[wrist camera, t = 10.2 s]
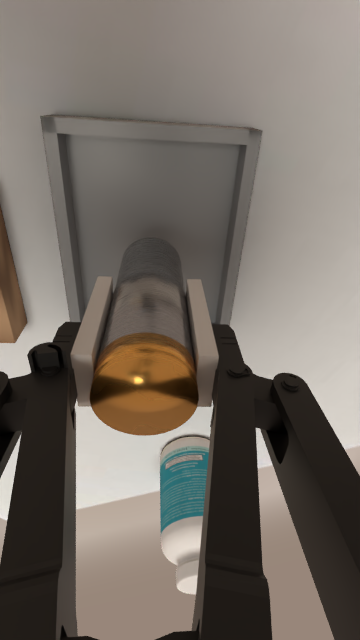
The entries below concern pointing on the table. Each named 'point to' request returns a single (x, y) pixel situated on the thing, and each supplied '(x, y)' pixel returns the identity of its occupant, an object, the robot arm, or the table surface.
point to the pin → (146, 346)
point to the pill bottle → (183, 506)
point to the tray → (150, 199)
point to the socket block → (9, 293)
